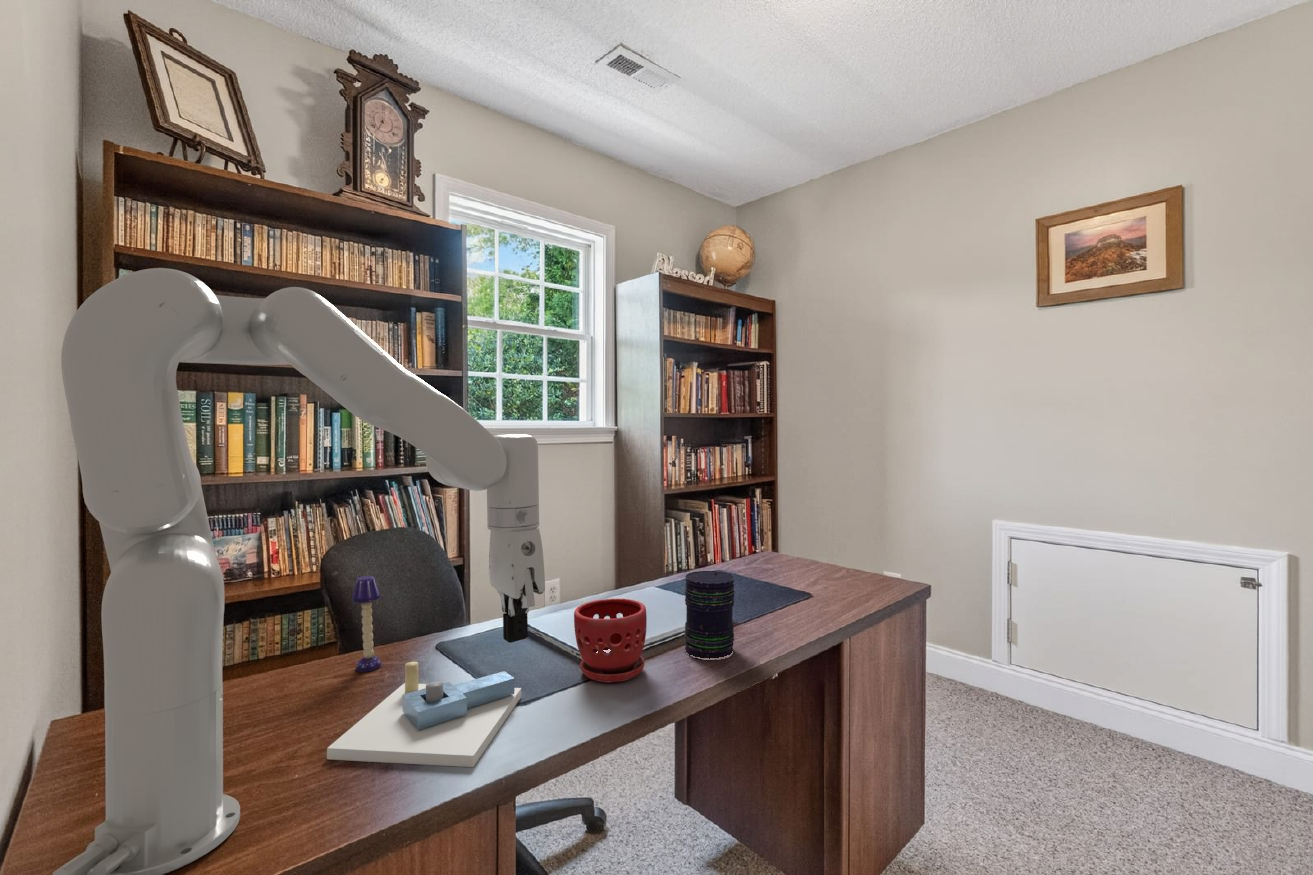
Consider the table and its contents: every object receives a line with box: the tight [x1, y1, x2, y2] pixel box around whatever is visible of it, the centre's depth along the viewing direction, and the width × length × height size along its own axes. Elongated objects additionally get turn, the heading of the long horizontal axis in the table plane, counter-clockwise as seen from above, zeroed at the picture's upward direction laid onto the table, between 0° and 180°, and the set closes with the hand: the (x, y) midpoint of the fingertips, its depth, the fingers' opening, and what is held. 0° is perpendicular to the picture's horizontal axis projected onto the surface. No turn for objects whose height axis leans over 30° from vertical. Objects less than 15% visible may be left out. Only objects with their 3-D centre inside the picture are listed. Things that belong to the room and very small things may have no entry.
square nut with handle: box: [402, 671, 515, 730], centre depth 89 cm, size 16×7×2 cm, turn 130°
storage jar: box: [684, 570, 735, 659], centre depth 116 cm, size 10×10×15 cm
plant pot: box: [573, 598, 648, 684], centre depth 105 cm, size 13×13×12 cm
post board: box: [326, 661, 522, 768], centre depth 86 cm, size 20×20×6 cm
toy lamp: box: [351, 575, 382, 673], centre depth 107 cm, size 5×5×17 cm
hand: (515, 639), depth 87 cm, fingers closed
